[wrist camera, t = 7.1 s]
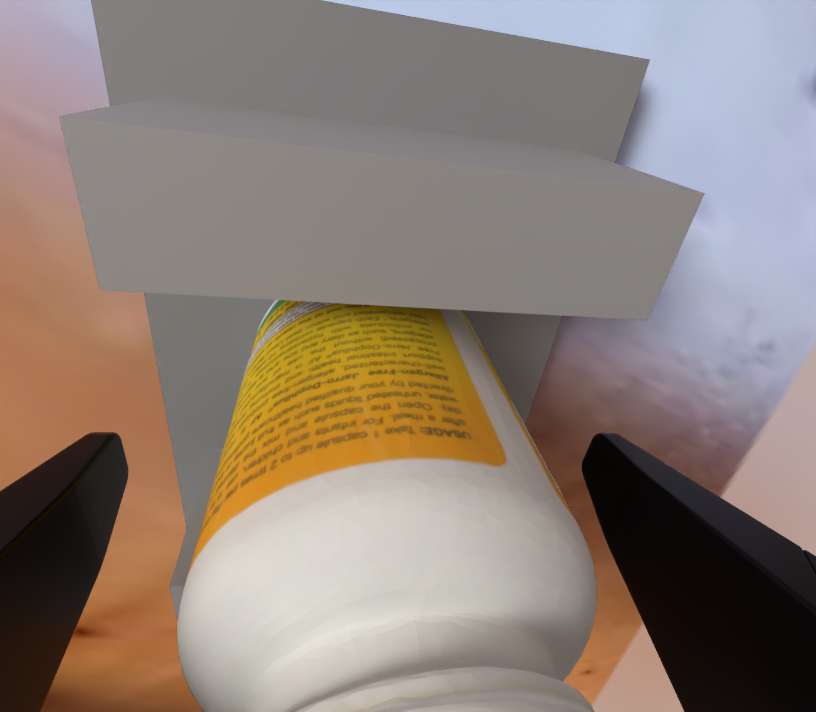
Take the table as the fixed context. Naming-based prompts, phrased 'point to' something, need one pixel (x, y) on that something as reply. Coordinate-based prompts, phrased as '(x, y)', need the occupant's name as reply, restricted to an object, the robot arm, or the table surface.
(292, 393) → the supplement bottle
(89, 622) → the table surface
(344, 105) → the holder
